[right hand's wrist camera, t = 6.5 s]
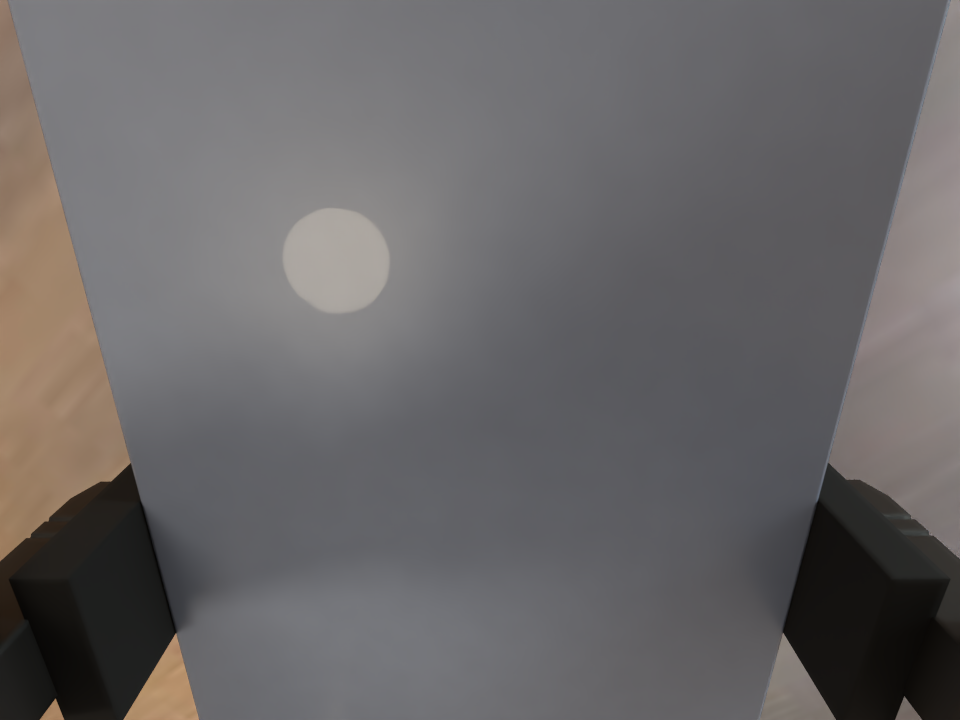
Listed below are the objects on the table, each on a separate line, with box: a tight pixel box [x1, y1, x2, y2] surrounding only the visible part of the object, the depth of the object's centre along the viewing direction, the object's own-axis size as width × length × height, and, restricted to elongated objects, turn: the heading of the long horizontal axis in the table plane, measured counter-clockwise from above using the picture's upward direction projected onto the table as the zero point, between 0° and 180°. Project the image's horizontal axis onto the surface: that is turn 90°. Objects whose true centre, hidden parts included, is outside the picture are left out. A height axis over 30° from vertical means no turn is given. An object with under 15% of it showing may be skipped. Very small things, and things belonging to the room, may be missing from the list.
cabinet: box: [8, 0, 951, 720], centre depth 13 cm, size 16×10×10 cm, turn 0°
